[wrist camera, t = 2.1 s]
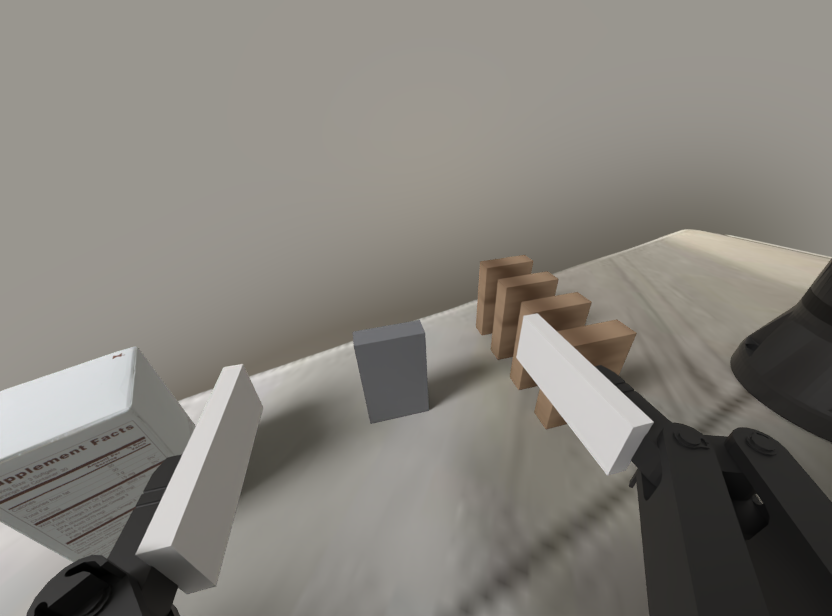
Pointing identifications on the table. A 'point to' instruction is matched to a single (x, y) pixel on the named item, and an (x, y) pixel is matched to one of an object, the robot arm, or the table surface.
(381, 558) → the table surface
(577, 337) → the walnut domino
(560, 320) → the walnut domino
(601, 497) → the table surface
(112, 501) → the supplement box
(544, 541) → the table surface
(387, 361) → the charcoal domino
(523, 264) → the walnut domino
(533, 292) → the walnut domino
